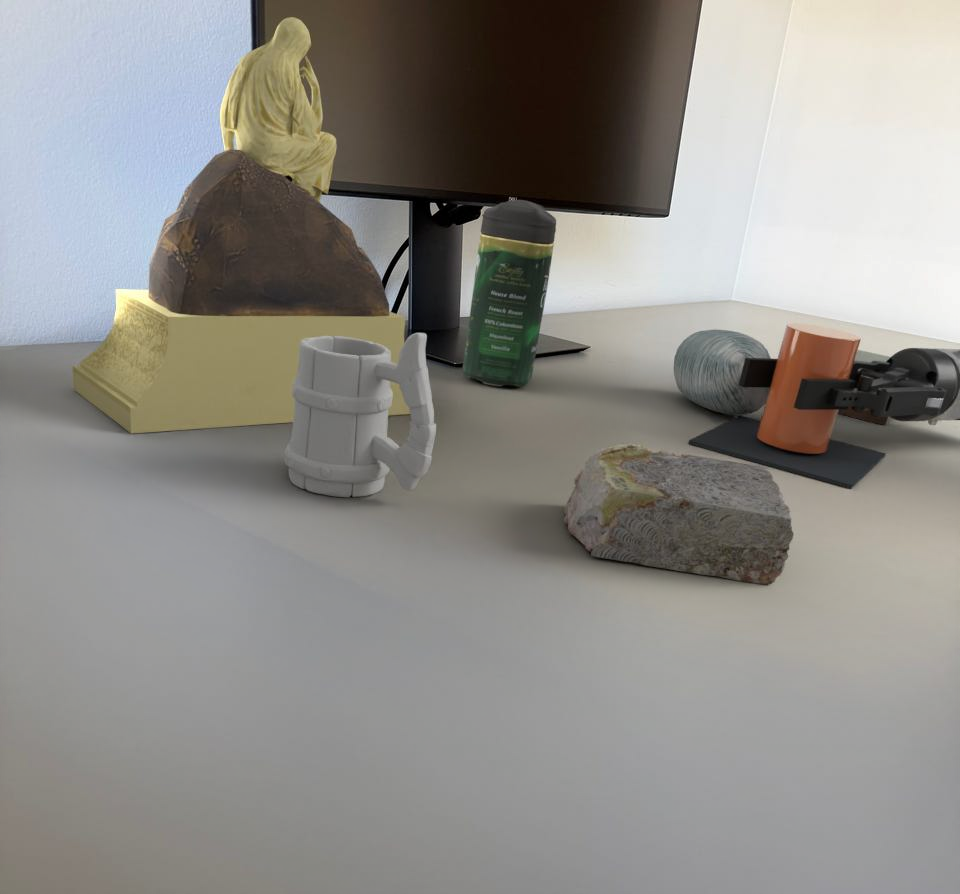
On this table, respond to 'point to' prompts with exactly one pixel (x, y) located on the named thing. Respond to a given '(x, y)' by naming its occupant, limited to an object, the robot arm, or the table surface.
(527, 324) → the coffee jar
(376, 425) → the mug
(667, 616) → the table surface
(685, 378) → the grey streaked ovoid
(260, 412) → the hooded thinker statue
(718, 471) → the geological specimen
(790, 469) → the mat
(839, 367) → the canister
